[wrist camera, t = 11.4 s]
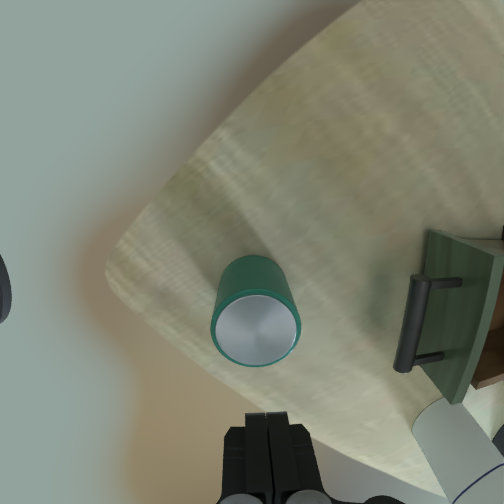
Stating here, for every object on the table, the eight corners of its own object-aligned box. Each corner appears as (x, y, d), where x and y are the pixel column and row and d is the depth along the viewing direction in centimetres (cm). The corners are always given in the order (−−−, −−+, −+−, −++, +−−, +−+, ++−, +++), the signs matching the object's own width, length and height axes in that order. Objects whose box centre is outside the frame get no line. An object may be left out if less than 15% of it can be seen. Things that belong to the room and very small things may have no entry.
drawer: (366, 357, 25) (402, 418, 17) (383, 228, 22) (443, 257, 14) (501, 333, 26) (545, 368, 17) (522, 233, 23) (579, 253, 15)
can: (210, 303, 25) (197, 352, 18) (235, 244, 23) (230, 275, 16) (270, 326, 25) (278, 379, 18) (297, 270, 24) (317, 309, 17)
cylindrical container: (447, 387, 28) (556, 540, 4) (466, 407, 29) (557, 536, 5) (402, 428, 29) (482, 593, 5) (425, 443, 30) (497, 581, 6)
